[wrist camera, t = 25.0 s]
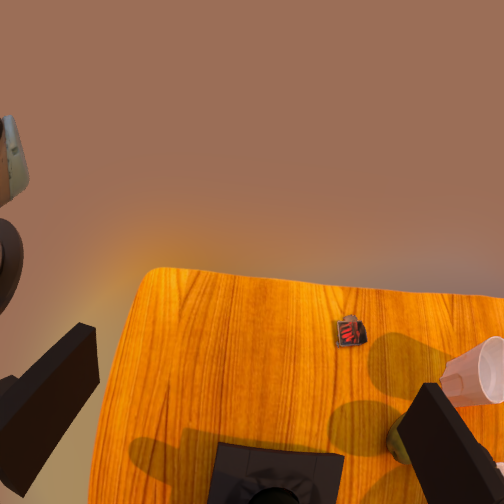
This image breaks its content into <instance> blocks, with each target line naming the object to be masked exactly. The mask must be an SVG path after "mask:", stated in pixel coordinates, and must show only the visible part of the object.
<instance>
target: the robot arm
mask: <svg viewBox="0 0 504 504" xmlns="http://www.w3.org/2000/svg"><path fill="white" fill-rule="evenodd" d="M28 183H29V173H28V168H27V164H26V160H25V156H24V152H23V149H22V145H21V141H20V137H19V133H18V130H17V126H16V123H15V120H14V118H13V116H12V115H8V116H4V117H3V118H2V119H0V207H2V206H3V205H5V204H6V203H8V202H9V201H11V200H13V198H14V197H15V196H17V195H18V194H19V193H21V192H22V191H23V190H25V189H26V187H27V186H28ZM3 265H4V247H3V244H2V242H1V240H0V276H1V273H2V269H3ZM99 383H100V379H99V369H98V358H97V344H96V328H95V327H92V326H89V325H86V324H83V323H80V322H79V323H78V324H77V325H76V326H74V327H73V328H72V329H71V330H70V331H69V332H68V333H67V334H65V336H63V337H62V338H61V339H60V340H59V341H58V342H57V343H56V344H55V345H54V346H52V347H51V348H50V349H49V350H48V351H47V352H46V353H45V354H44V355H43V356H42V357H41V358H40V359H39V360H38V361H37V362H36V363H34V364H33V365H32V366H31V367H30V368H29V369H28V370H27V371H26V372H25V373H24V374H23V375H22V376H21V377H20V378H19V379H18V378H16V377H15V376H13V375H10V376H8V377H5V378H3V379H1V380H0V480H1V482H2V483H3V484H4V485H5V486H6V487H7V488H9V489H10V490H12V491H13V492H15V493H16V494H18V495H19V496H21V497H22V498H24V496H25V494H26V493H27V491H28V489H29V488H30V486H31V484H32V483H33V481H34V480H35V478H36V476H37V475H38V473H39V472H40V470H41V469H42V467H43V465H44V464H45V462H46V461H47V459H48V458H49V456H50V455H51V453H52V452H53V450H54V449H55V447H56V446H57V444H58V442H59V441H60V439H61V438H62V436H63V435H64V433H65V432H66V431H67V429H68V428H69V426H70V425H71V423H72V422H73V420H74V419H75V417H76V416H77V414H78V413H79V411H80V410H81V408H82V407H83V406H84V404H85V403H86V401H87V400H88V398H89V397H90V396H91V394H92V393H93V391H94V390H95V388H96V387H97V385H98V384H99ZM396 429H397V432H398V434H399V436H400V438H401V440H402V443H403V445H404V447H405V450H406V452H407V454H408V456H409V459H410V461H411V463H412V466H413V468H414V470H415V473H416V475H417V478H418V480H419V482H420V485H421V487H422V490H423V492H424V495H425V497H426V500H427V502H428V504H504V476H503V474H502V473H501V471H500V469H499V468H497V465H496V463H495V461H493V458H492V457H491V455H490V454H489V452H488V450H486V449H485V448H484V447H483V446H482V445H481V444H480V443H478V442H477V441H476V439H475V438H474V436H473V434H472V433H471V431H470V430H469V428H468V427H467V425H466V424H465V422H464V421H463V420H462V418H461V417H460V415H459V414H458V412H457V411H456V409H455V408H454V406H453V405H452V404H451V402H450V401H449V399H448V398H447V396H446V395H445V394H444V392H443V391H442V389H441V388H440V387H439V385H438V384H437V383H423V385H422V387H421V388H420V390H419V392H418V394H417V395H416V397H415V399H414V401H413V402H412V404H411V406H410V407H409V409H408V411H407V412H406V414H405V416H404V417H403V419H402V420H401V422H400V423H399V425H398V427H397V428H396Z"/></svg>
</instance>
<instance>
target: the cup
mask: <svg viewBox="0 0 504 504" xmlns="http://www.w3.org/2000/svg"><path fill="white" fill-rule="evenodd" d="M439 380H440V381H441V383H442V390H443V392H444V394H445V395H446V396H447V398H448V399H449V401H450V402H451V404H452V405H453V406H454V407H465V406H475V405H485V404H495V403H501V402H503V401H504V339H503V338H501V337H498V336H494V337H491V338H489V339H487V340H486V341H484V342H483V343H481V344H479V345H478V346H476V347H474V348H473V349H471V350H470V351H468V352H466V353H465V354H463V355H461V356H459V357H457V358H455V359H453V360H451V361H449V362H447V363H446V369H445V372H444V374H443V376H442V377H441V378H440V379H439Z"/></svg>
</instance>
